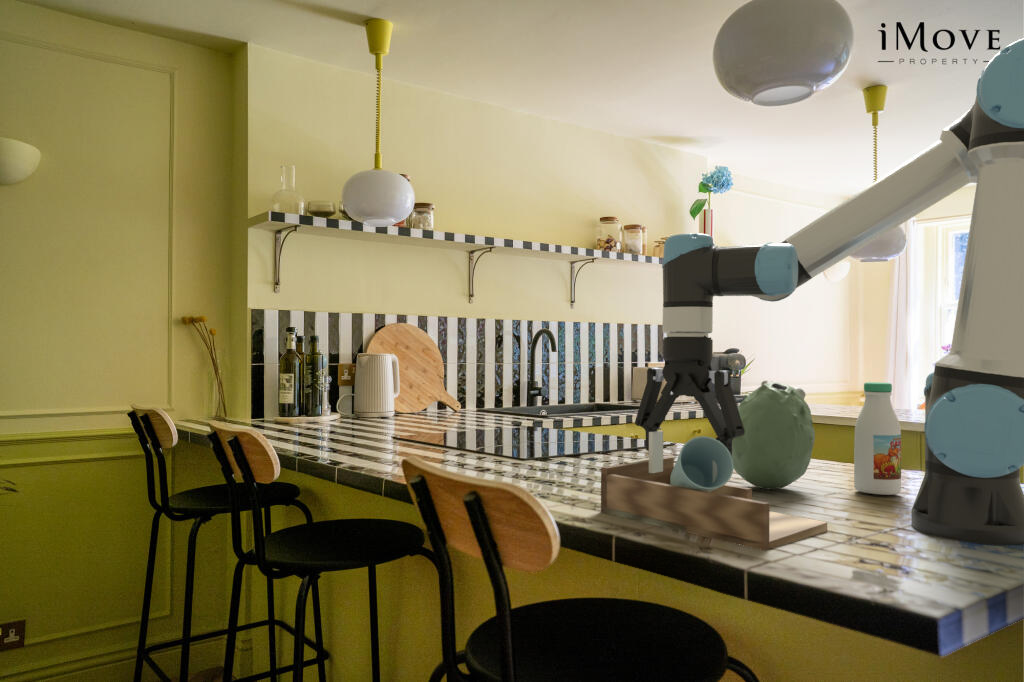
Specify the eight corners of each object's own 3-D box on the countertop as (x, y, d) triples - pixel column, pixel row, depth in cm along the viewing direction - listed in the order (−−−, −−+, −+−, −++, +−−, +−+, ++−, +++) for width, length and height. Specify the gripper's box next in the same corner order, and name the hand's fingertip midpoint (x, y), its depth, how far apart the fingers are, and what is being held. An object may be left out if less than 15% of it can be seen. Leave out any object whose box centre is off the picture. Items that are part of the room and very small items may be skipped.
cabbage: (709, 490, 135) (709, 381, 135) (746, 475, 149) (746, 378, 149) (796, 502, 125) (797, 385, 125) (827, 485, 140) (827, 380, 140)
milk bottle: (855, 493, 132) (855, 383, 132) (852, 486, 139) (853, 381, 139) (903, 497, 129) (904, 384, 129) (898, 489, 136) (899, 382, 136)
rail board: (827, 532, 105) (827, 478, 105) (764, 555, 93) (764, 494, 93) (667, 500, 126) (667, 454, 126) (600, 515, 115) (601, 465, 115)
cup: (723, 486, 112) (745, 467, 102) (687, 516, 110) (706, 500, 100) (688, 448, 114) (707, 426, 105) (653, 477, 112) (668, 457, 103)
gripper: (770, 335, 106) (769, 486, 106) (642, 335, 124) (642, 464, 124) (742, 335, 101) (741, 493, 101) (613, 335, 119) (612, 469, 119)
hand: (686, 477), depth 113 cm, fingers open, 11 cm apart
